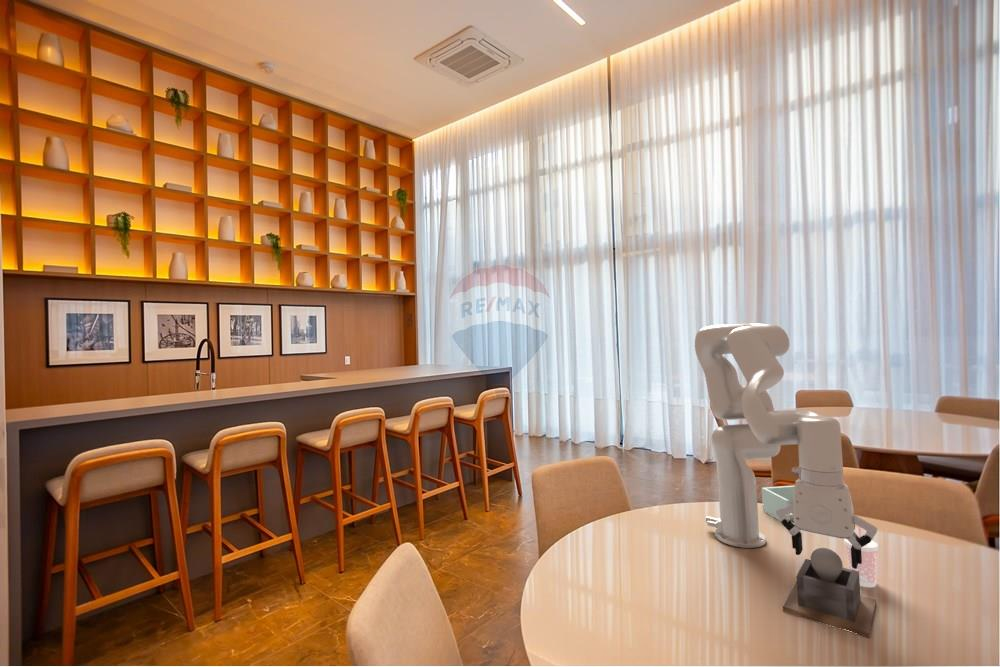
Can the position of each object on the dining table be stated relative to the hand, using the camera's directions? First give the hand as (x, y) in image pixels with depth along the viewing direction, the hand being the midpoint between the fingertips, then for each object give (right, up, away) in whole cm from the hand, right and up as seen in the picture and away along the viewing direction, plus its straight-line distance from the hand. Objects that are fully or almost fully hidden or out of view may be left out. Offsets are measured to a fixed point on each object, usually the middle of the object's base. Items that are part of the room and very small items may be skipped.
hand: (826, 559), depth 97 cm
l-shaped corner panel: (+23, -10, +47) cm, 53 cm away
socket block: (+1, -10, 0) cm, 10 cm away
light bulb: (0, -8, 0) cm, 8 cm away
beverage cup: (+14, -10, +9) cm, 19 cm away
